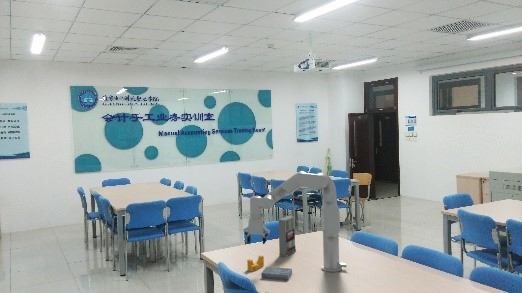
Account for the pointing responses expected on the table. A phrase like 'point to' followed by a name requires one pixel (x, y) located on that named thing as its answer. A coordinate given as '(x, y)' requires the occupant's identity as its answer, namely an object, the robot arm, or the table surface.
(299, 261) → the table surface
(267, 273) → the slate stand
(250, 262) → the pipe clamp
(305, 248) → the table surface
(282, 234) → the cassette tape recorder
